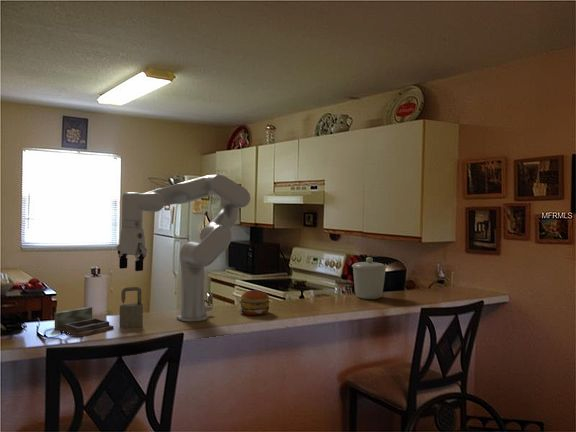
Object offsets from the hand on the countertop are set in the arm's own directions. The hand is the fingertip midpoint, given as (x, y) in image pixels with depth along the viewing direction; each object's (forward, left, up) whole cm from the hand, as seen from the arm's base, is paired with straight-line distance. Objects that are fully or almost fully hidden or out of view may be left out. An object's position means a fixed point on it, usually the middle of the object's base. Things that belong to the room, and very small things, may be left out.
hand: (131, 269), depth 189 cm
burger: (-48, +21, -22) cm, 57 cm away
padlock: (0, 0, -22) cm, 22 cm away
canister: (-115, +42, -22) cm, 124 cm away
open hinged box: (+14, -9, -22) cm, 27 cm away
